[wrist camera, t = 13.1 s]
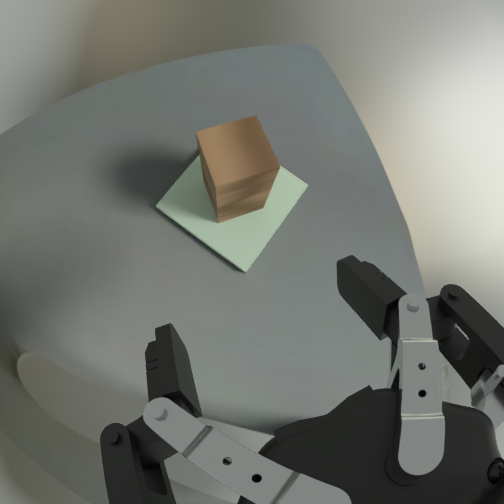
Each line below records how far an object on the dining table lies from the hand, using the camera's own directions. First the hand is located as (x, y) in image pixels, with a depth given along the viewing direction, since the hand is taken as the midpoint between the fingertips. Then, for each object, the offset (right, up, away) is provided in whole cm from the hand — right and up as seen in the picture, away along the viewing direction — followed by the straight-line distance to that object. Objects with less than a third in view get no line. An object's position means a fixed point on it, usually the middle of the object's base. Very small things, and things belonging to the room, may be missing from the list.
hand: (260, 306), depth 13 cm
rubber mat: (-2, +9, +19) cm, 21 cm away
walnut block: (-2, +9, +18) cm, 20 cm away
